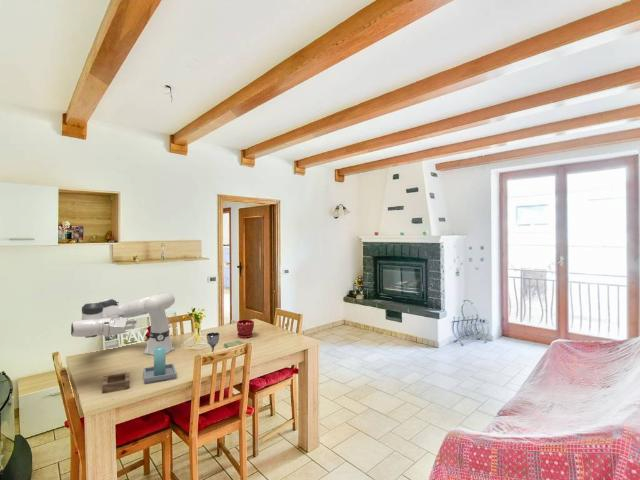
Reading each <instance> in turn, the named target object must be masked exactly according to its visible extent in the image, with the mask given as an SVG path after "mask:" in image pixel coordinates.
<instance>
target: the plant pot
mask: <svg viewBox="0 0 640 480" xmlns="http://www.w3.org/2000/svg"><path fill="white" fill-rule="evenodd" d="M254 325H255V321H254V320H252V319H240V320H237V322H236V330H237V337H238V338H242V339H248V338H247V337H249V338H251V337H252V336H253V331H254V328H255V326H254Z"/></svg>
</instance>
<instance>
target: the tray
mask: <svg viewBox="0 0 640 480" xmlns="http://www.w3.org/2000/svg"><path fill="white" fill-rule="evenodd" d="M142 372H143V374H142V375H143V383H144V385H149V384H154V383H160V382H164V381H165V382H166V381H172V380H176V378H178V376H177V373H178V372H177V370H176V367H175V364H174V363H167V364H166V369H165V375H160V376H154V365H153V366H147V367H143V371H142ZM171 379H172V380H171Z"/></svg>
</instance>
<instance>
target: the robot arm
mask: <svg viewBox="0 0 640 480" xmlns="http://www.w3.org/2000/svg"><path fill="white" fill-rule="evenodd" d="M175 299H176V298H175V295H174V294H173V293H171V292H161V293H158V294H155V295H150V296H147V297H143V298H137V299H133V300H130V301H127V302H124V303H122V304H119V303H120V302H119V301H117V300H115V299H114V298H105V299H102V300H100V301H99V302H95V301H93V302H92V301H91V302H87V303H85V304H84V305H83V306H82V307H81V319H80V320H77V321H75V320H74V321H73V322H71V325H70V326H71V327H70V328H71V330H70V335H71V337H74V338H79V337H80V338H83V337H84V338H85V339H86V338H87V339H89V338H96V337H98V336H103V337H109V336H115V335H121V334H124V333H126V331H128V330H133V329H136V324H137V320H135V319H134V320H133V319H129V318H135V317H140V316H144V315H147V314H148V316H149V320H150V331H149V339H148V340H146V344H145V345H146V347H145V349H144V352H143V354H144V355H150V356H151V355H152V356H154V348H155V347H159V346H165V347H166V354H167V353H170V352H171V351H174V350H175V346H173V345H172V344H173V343H172V340H173V339H172V337H171V336H170V328H169V327H170V324H169V323H170V319H169V316H167V314H166V309H169V308H171V307H172V306H173V305H174V304H175V302H176V301H175Z"/></svg>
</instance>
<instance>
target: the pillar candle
mask: <svg viewBox="0 0 640 480" xmlns="http://www.w3.org/2000/svg"><path fill="white" fill-rule="evenodd" d="M166 357H167V353H166V347H165V346H159V347H155V348H154V355H153V366H154V376H160V375H165V369H166Z"/></svg>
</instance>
